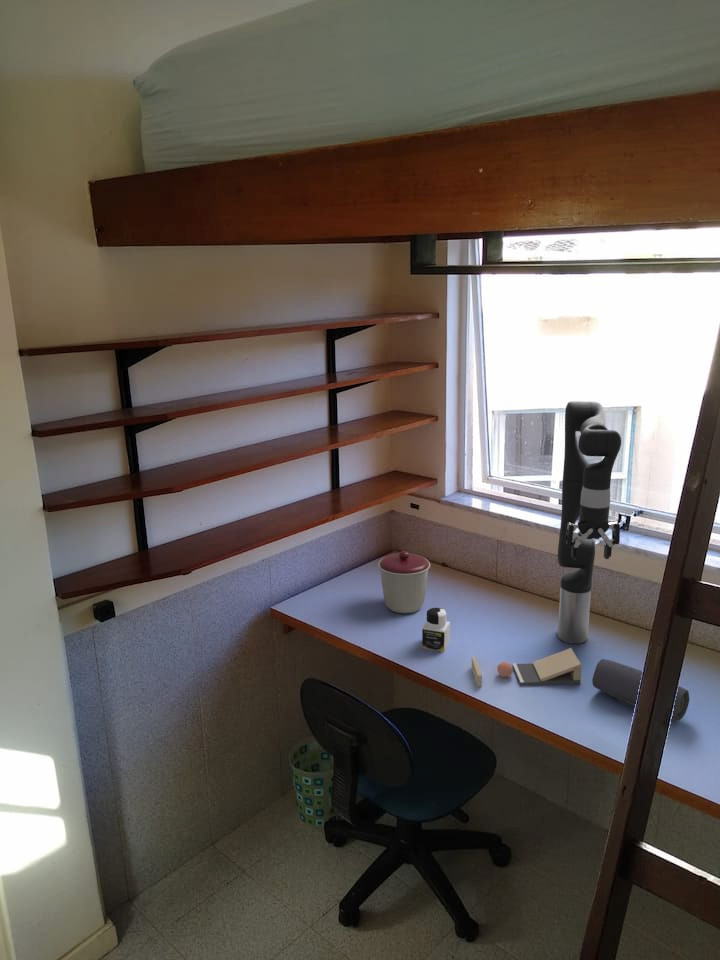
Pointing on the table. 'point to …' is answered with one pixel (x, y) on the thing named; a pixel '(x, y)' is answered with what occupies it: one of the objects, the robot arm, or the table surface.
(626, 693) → the bluetooth speaker
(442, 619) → the medicine bottle
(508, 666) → the ball
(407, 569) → the canister
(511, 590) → the table surface
